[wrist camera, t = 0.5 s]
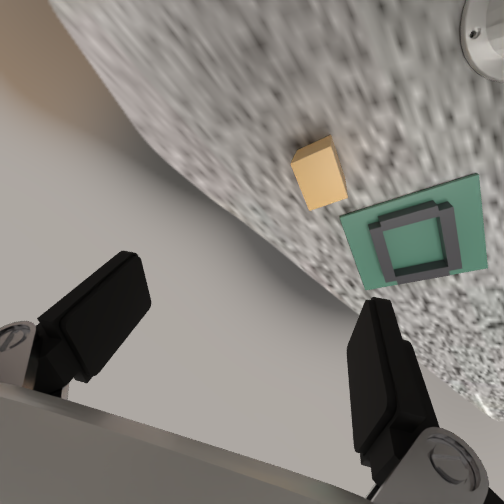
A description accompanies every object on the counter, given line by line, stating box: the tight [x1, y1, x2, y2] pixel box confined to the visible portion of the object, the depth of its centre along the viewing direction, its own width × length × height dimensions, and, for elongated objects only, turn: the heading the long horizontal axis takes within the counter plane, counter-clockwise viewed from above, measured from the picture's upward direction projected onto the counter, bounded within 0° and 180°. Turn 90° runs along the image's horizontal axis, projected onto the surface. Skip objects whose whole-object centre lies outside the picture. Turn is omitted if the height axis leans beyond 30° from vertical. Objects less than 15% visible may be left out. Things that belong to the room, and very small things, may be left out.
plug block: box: [291, 135, 348, 211], centre depth 31 cm, size 4×6×7 cm
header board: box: [340, 173, 488, 290], centre depth 35 cm, size 16×14×2 cm
